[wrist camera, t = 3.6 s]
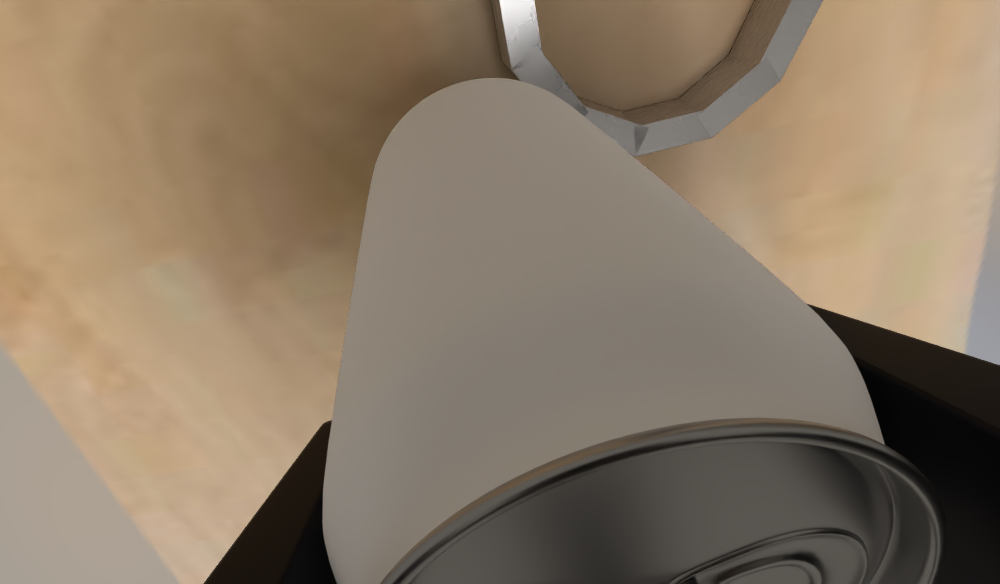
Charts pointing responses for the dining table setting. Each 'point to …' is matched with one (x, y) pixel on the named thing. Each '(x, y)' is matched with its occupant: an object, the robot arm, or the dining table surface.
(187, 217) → the dining table surface
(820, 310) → the robot arm
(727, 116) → the shaft seat
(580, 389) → the can
